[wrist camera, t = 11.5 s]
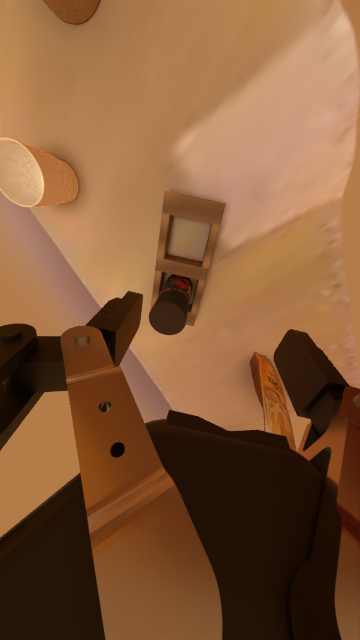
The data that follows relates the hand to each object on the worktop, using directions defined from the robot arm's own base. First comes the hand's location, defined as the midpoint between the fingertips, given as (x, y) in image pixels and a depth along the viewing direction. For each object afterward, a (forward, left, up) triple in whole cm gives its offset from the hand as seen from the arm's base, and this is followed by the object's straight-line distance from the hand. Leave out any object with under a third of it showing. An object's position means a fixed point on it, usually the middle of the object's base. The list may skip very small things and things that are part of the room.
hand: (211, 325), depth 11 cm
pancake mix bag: (+31, +23, -32) cm, 50 cm away
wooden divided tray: (+6, -4, -32) cm, 33 cm away
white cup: (-4, -29, -32) cm, 43 cm away
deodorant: (+11, -4, -32) cm, 34 cm away
